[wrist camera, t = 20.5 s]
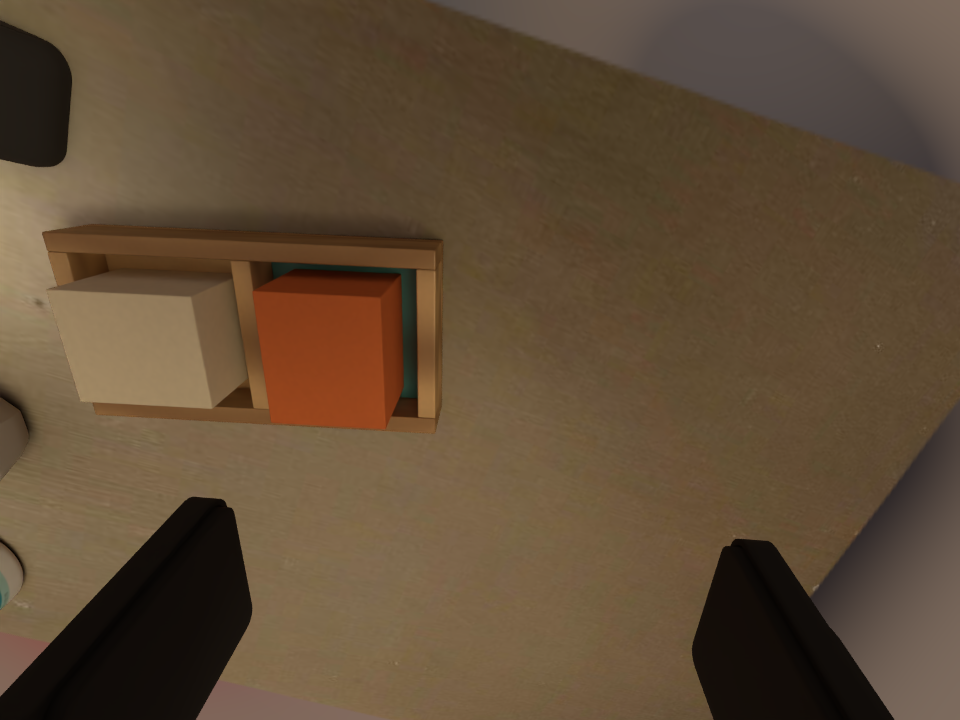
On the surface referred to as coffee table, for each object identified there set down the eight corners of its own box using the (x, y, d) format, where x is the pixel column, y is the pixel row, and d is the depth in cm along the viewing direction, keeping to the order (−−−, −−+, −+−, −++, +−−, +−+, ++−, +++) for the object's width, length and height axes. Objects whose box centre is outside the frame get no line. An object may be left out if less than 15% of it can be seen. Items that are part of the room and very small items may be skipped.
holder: (91, 223, 28) (40, 231, 24) (443, 239, 27) (435, 250, 24) (134, 390, 32) (95, 415, 28) (441, 407, 31) (435, 434, 28)
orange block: (294, 268, 27) (251, 290, 22) (401, 273, 27) (380, 297, 22) (306, 382, 30) (270, 423, 25) (404, 387, 30) (385, 430, 25)
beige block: (121, 267, 28) (44, 289, 23) (242, 273, 27) (190, 296, 23) (145, 364, 30) (79, 402, 25) (257, 370, 30) (212, 409, 25)
